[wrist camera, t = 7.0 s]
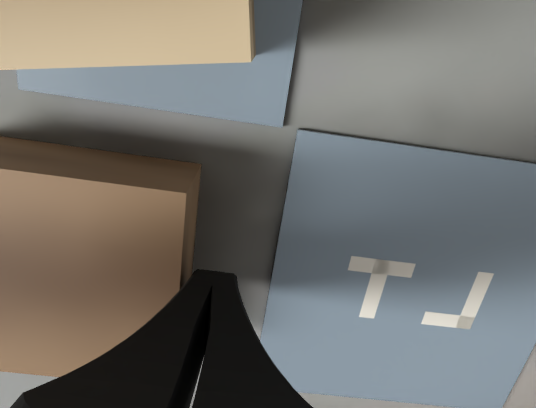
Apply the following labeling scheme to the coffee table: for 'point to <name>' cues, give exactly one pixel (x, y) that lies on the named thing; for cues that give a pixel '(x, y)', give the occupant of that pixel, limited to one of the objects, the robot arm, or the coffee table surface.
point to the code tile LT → (403, 273)
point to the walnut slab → (87, 249)
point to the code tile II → (195, 77)
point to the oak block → (124, 33)
